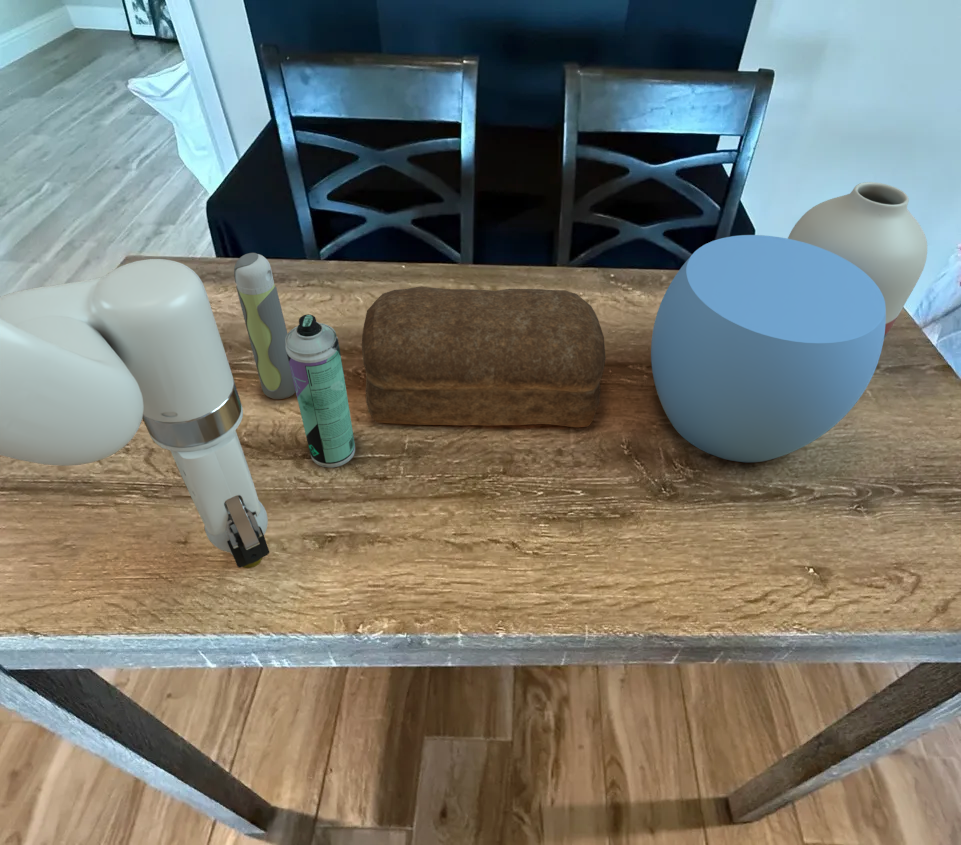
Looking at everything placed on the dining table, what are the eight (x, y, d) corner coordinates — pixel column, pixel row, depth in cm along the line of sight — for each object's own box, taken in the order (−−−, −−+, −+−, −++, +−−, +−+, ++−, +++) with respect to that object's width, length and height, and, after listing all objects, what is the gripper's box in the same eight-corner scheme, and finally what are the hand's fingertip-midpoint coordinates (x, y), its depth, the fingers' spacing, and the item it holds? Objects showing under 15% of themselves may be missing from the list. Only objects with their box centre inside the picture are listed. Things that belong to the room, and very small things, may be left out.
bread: (600, 434, 86) (618, 354, 77) (361, 429, 86) (349, 348, 76) (586, 350, 98) (600, 272, 89) (376, 345, 98) (368, 266, 88)
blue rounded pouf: (865, 483, 81) (953, 352, 67) (662, 491, 80) (707, 358, 65) (785, 352, 99) (841, 226, 85) (618, 356, 97) (645, 228, 83)
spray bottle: (290, 404, 89) (259, 273, 75) (256, 397, 89) (218, 266, 75) (306, 380, 92) (278, 250, 78) (273, 374, 93) (240, 244, 79)
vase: (761, 299, 109) (817, 153, 92) (874, 328, 104) (954, 180, 87) (743, 359, 98) (802, 206, 81) (868, 395, 93) (959, 241, 76)
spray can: (347, 429, 86) (325, 298, 72) (361, 459, 82) (341, 327, 68) (305, 443, 84) (273, 311, 70) (317, 473, 80) (287, 341, 66)
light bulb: (238, 534, 74) (215, 475, 67) (289, 544, 73) (271, 485, 66) (212, 580, 70) (185, 522, 63) (266, 591, 69) (244, 534, 62)
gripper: (118, 364, 59) (178, 494, 72) (176, 495, 49) (234, 619, 62) (204, 336, 62) (247, 466, 75) (275, 454, 52) (311, 580, 65)
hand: (241, 534), depth 68 cm, fingers closed on light bulb, 5 cm apart
